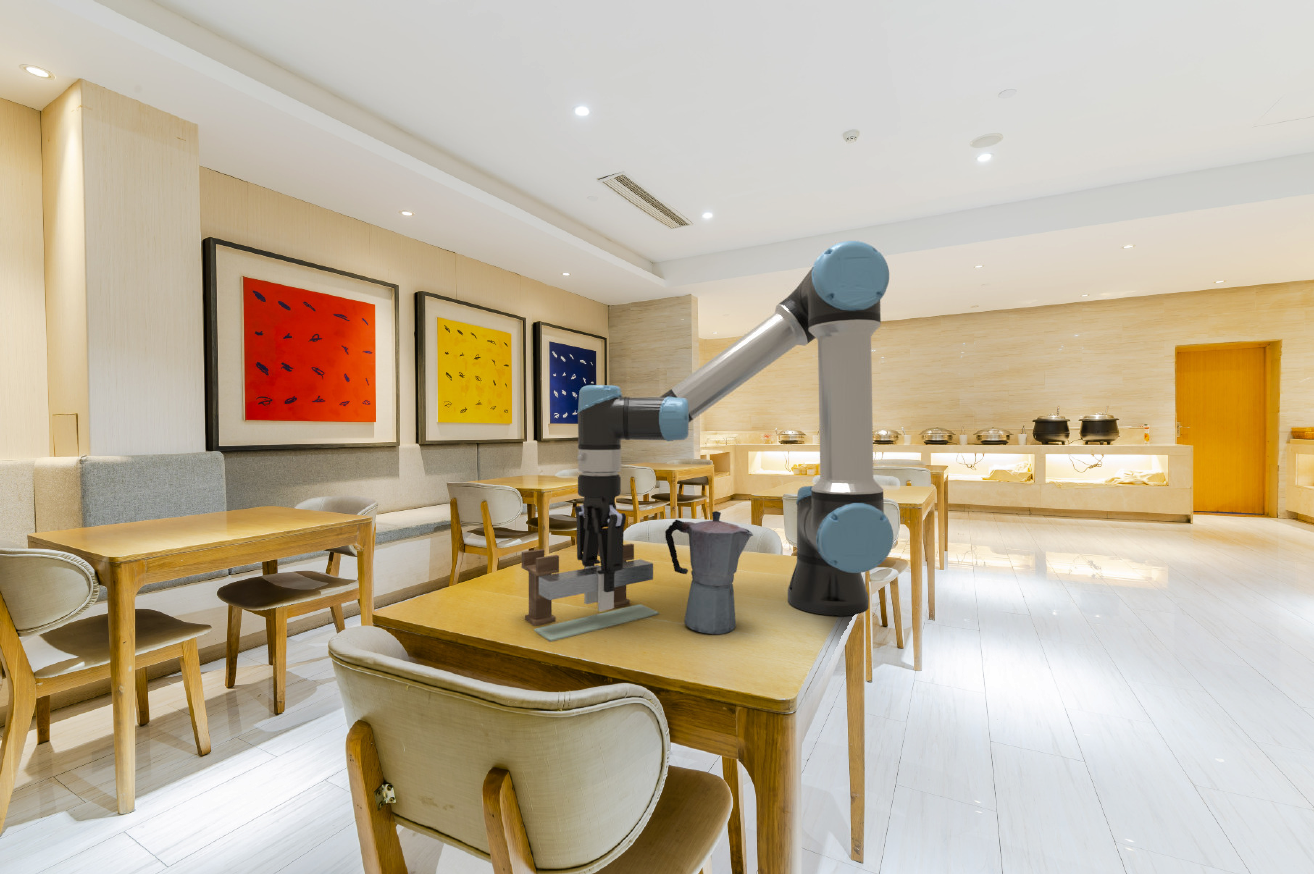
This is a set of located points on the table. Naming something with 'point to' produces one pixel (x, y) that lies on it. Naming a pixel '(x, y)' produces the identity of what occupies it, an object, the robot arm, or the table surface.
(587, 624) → the green mat
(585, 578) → the steel bar
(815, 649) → the table surface
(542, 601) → the walnut standards
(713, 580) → the moka pot
